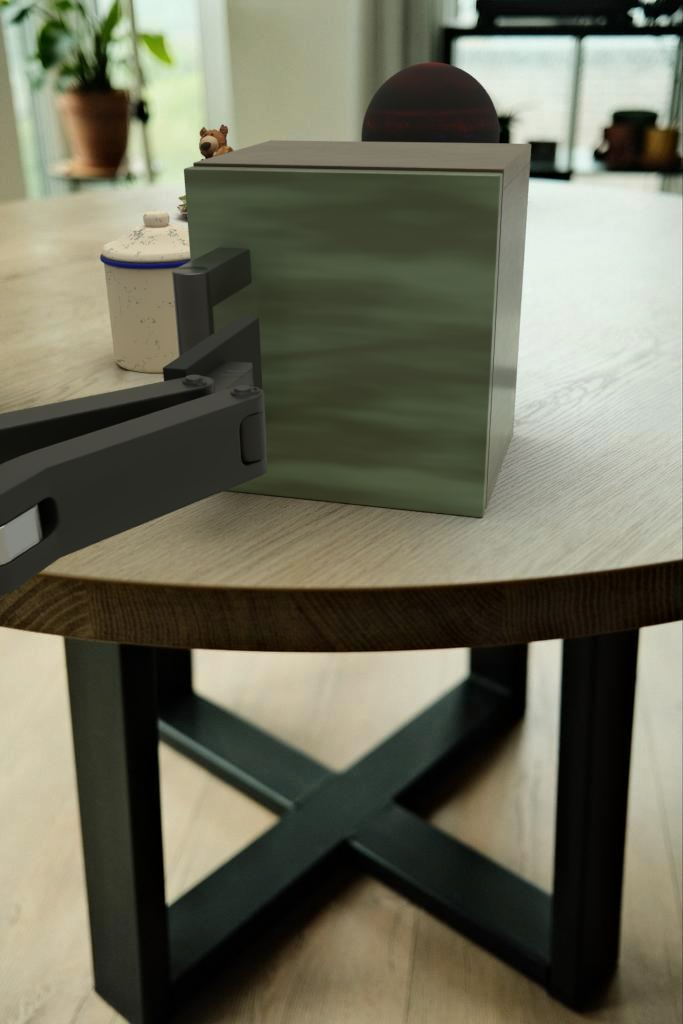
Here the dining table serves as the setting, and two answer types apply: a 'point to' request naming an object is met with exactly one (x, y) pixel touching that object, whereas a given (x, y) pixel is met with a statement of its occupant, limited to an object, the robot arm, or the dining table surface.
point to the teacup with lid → (145, 292)
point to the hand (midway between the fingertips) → (84, 341)
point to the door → (355, 324)
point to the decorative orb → (431, 108)
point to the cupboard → (511, 243)
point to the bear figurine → (210, 150)
